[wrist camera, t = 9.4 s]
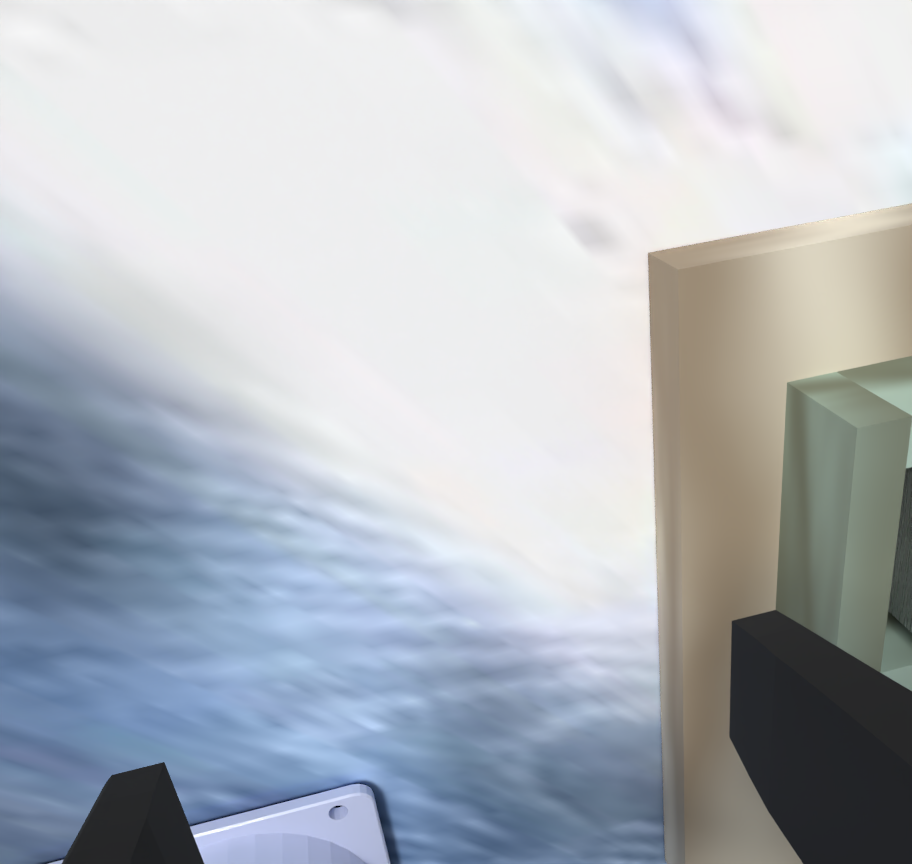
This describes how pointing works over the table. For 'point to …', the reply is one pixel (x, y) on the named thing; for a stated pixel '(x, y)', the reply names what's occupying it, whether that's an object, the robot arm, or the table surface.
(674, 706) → the block
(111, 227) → the table surface
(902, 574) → the key peg
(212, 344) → the table surface
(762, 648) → the robot arm
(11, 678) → the table surface
